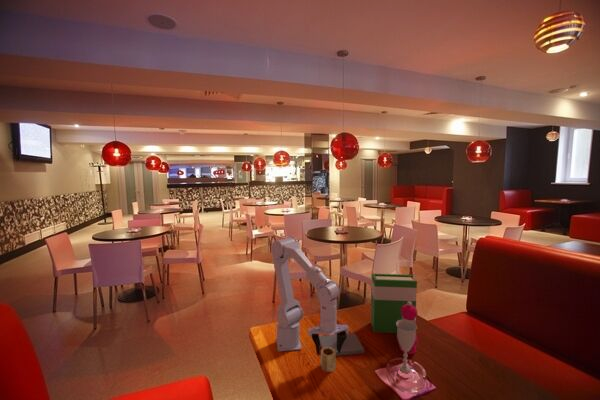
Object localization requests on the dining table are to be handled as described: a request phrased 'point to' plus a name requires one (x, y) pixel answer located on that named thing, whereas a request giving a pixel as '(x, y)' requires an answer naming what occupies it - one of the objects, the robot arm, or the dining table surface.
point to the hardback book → (390, 300)
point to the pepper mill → (410, 314)
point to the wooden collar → (328, 359)
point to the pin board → (348, 347)
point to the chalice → (406, 340)
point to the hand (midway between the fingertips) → (328, 352)
